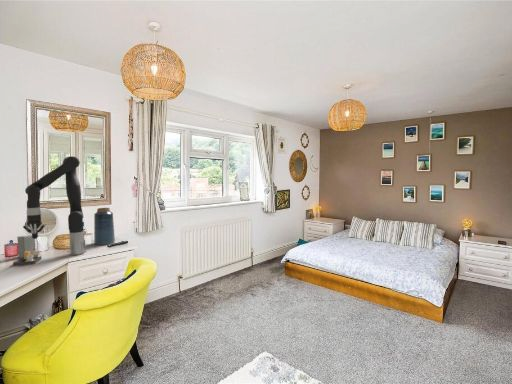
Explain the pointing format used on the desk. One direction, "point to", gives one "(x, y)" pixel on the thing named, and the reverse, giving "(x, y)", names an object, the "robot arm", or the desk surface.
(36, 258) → the panel
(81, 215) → the robot arm
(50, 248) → the desk surface
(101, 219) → the blue lidded jar
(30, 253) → the orange rectangular block
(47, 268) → the desk surface
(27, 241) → the skincare box
